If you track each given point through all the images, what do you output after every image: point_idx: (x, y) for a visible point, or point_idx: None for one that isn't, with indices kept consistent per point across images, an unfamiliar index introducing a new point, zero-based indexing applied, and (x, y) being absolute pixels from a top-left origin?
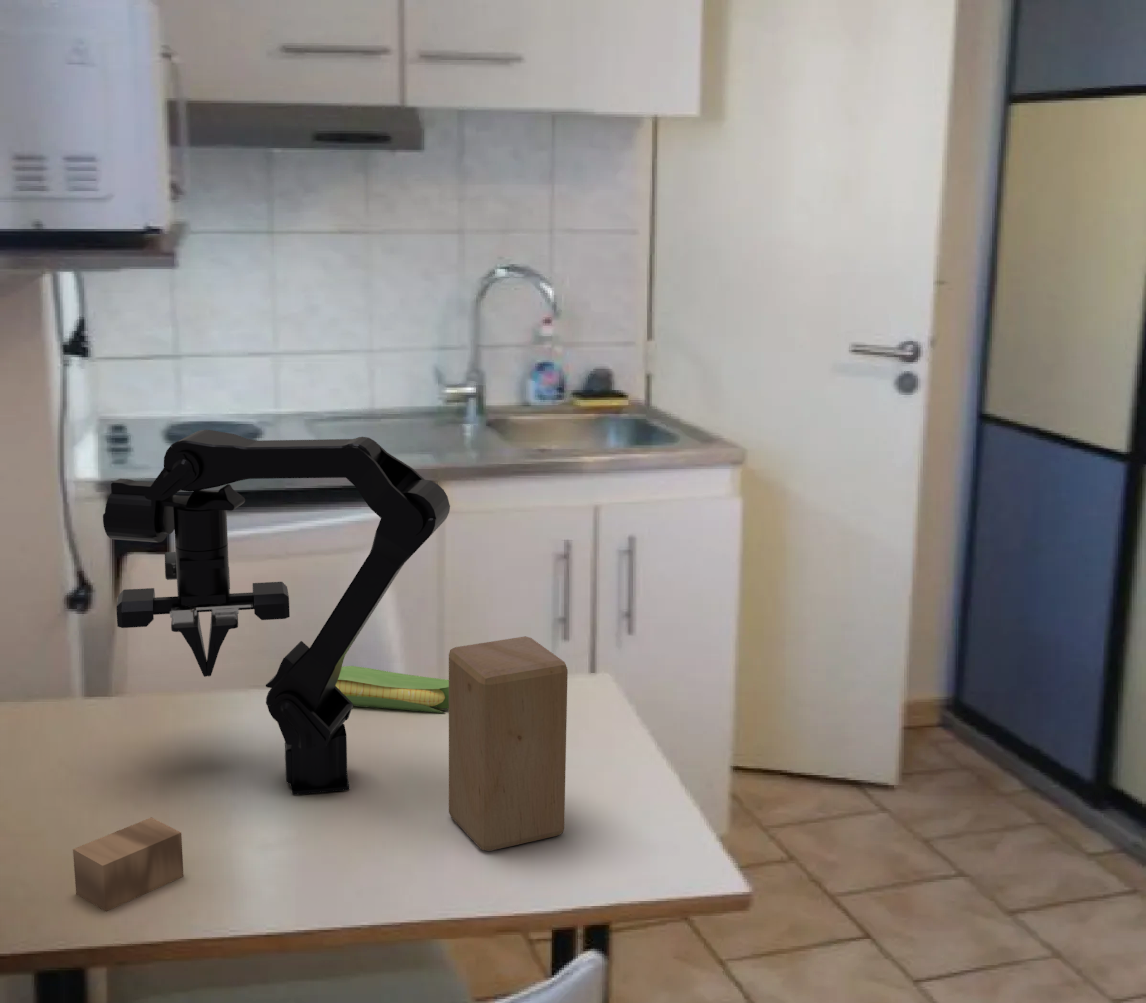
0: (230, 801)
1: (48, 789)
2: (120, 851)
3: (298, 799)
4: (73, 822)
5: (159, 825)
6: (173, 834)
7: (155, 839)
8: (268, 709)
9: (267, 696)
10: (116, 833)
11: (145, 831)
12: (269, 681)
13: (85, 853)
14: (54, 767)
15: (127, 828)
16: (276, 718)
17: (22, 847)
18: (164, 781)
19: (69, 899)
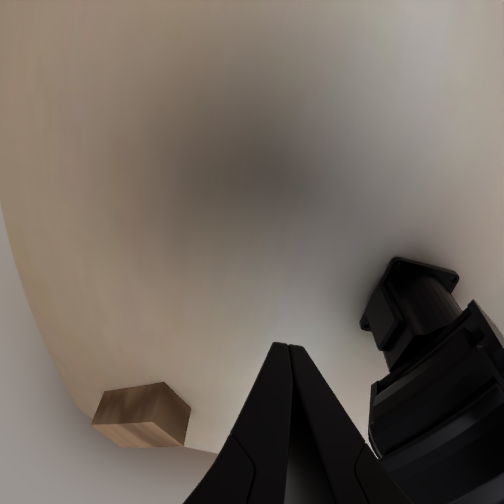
0: (274, 308)
1: (28, 171)
2: (131, 442)
3: (360, 332)
4: (69, 279)
5: (162, 433)
6: (176, 445)
7: (159, 443)
8: (373, 410)
9: (373, 442)
10: (122, 426)
11: (149, 434)
12: (391, 461)
13: (103, 432)
14: (31, 92)
15: (130, 424)
16: (369, 419)
17: (38, 307)
18: (185, 203)
19: (101, 394)
